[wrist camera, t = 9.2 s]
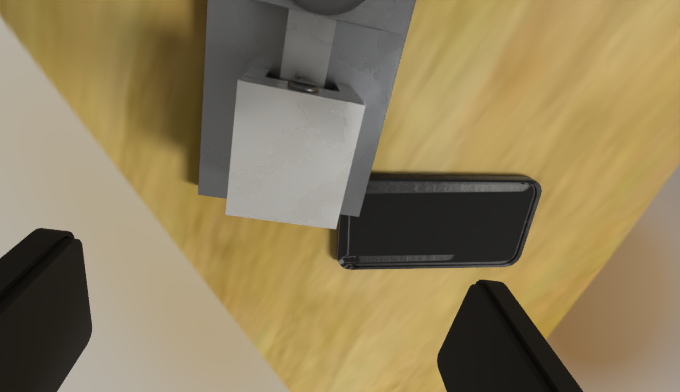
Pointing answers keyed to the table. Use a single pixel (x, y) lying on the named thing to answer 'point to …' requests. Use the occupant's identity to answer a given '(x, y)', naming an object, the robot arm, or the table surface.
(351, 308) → the table surface
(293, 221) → the block
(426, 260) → the phone
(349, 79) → the coupler
